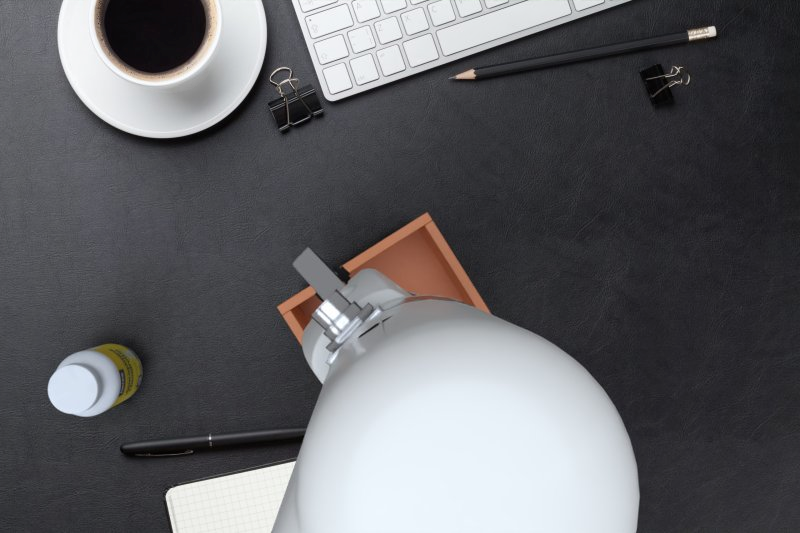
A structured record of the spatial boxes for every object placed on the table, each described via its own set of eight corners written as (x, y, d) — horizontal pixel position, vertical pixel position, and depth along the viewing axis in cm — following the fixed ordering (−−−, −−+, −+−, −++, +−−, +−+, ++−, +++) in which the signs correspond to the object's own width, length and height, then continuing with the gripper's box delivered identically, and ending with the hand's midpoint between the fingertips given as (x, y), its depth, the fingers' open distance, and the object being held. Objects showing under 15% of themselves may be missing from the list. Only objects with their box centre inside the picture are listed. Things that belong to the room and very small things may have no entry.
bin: (504, 349, 60) (521, 361, 53) (371, 434, 60) (372, 456, 53) (420, 217, 60) (427, 211, 53) (287, 301, 59) (276, 306, 53)
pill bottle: (144, 401, 83) (108, 424, 71) (84, 402, 82) (37, 425, 71) (144, 341, 83) (107, 354, 71) (83, 342, 82) (37, 355, 71)
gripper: (179, 310, 27) (255, 290, 45) (529, 639, 27) (465, 489, 45) (326, 158, 27) (343, 199, 45) (670, 488, 28) (551, 398, 46)
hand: (405, 345), depth 45 cm, fingers closed on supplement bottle, 6 cm apart
